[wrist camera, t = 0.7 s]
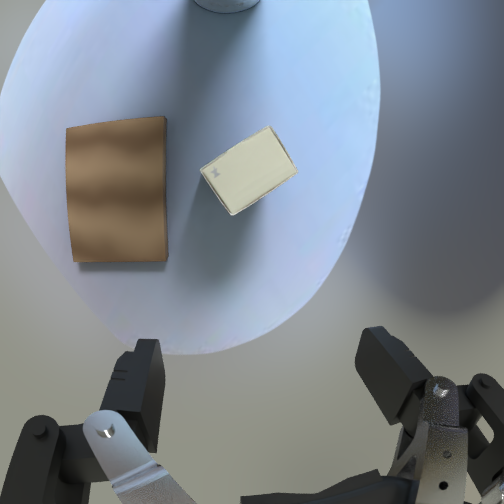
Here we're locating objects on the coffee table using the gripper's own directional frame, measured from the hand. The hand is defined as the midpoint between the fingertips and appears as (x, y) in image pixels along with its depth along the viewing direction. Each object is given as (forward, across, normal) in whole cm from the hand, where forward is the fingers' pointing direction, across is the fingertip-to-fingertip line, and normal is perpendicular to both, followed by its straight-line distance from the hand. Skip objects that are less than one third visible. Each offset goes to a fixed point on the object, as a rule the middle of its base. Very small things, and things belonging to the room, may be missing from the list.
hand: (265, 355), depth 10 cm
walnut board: (+24, +13, -4) cm, 28 cm away
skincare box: (+25, -1, -6) cm, 25 cm away
